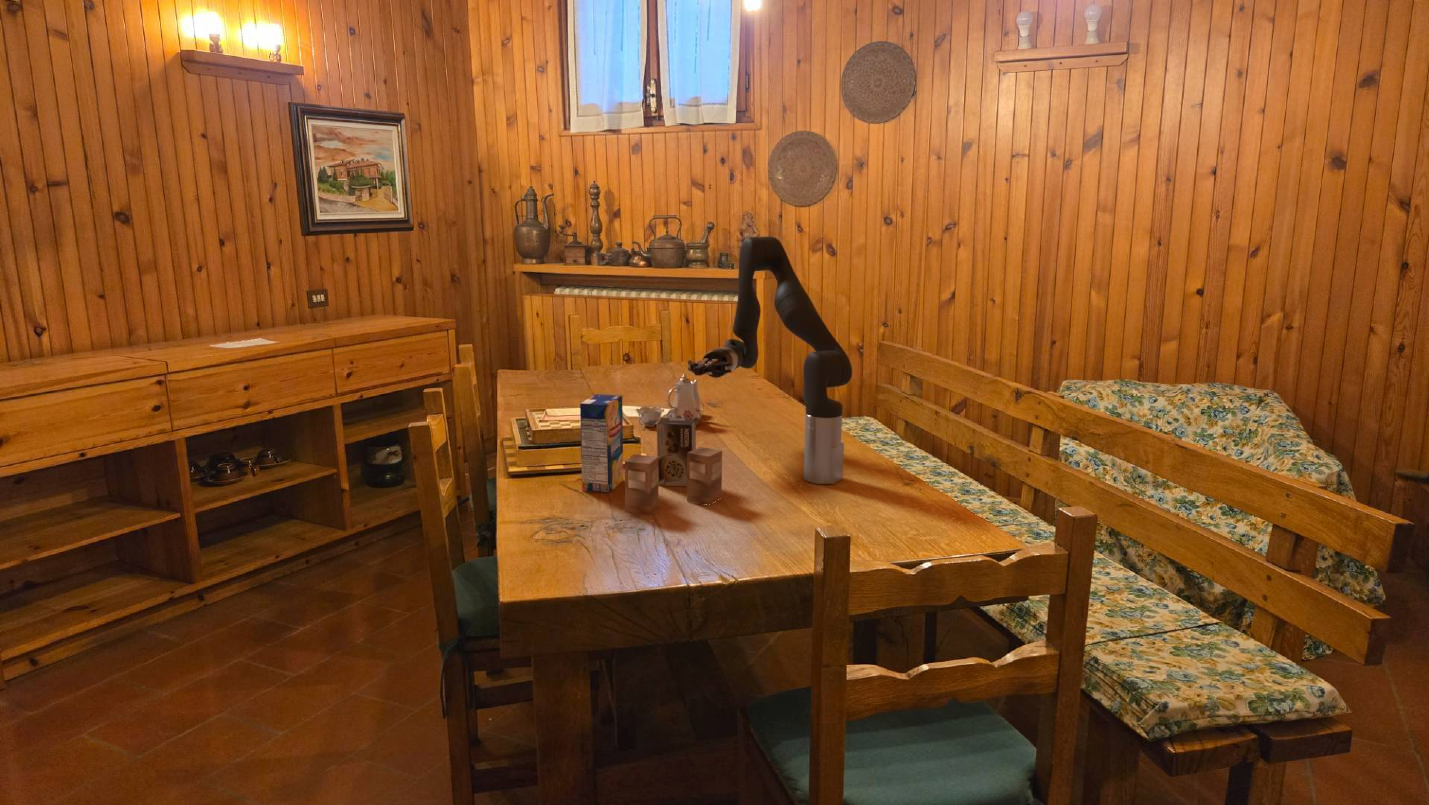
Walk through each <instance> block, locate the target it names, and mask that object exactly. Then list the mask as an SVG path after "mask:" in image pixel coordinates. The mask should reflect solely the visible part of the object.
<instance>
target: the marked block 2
mask: <svg viewBox="0 0 1429 805" xmlns="http://www.w3.org/2000/svg"><path fill="white" fill-rule="evenodd" d="M722 473H723V450H719V449H715V448H708V447H703V446H700V447H696V449H695V450H692V451H690V452H688V453H687V486H686V502H687V501H690V502H689V503H692V502H695V503H694V504H697V503H699V504H698V505H702V504H707V505H709V504H711V505H713V504H714V503H713V502H715V501H717V502H718V499H720V498H722V496H723V495H722V492H723V489H722V486H723V483H722V481H723V480H722V479H723V478H722V476H723V474H722ZM720 500H721V499H720ZM712 503H713V504H712ZM715 503H716V502H715ZM709 506H710V505H709Z"/></svg>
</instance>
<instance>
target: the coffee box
mask: <svg viewBox="0 0 1429 805" xmlns="http://www.w3.org/2000/svg"><path fill="white" fill-rule="evenodd" d="M696 429H697V428H696V419H689V418H667V417H660V419H659V421H658V422H657V423H656V450H657V451H656V453H657V454H656V455H657V456H656V457H658V466H659V483H658V486H665V487H666V486H669V487H670V486H671V487H687V453H688V452H690V451H692V450H695V449H697V447H696V445H697V443H696V441H697V439H696V438H697V437H696V433H697V432H696V431H697V430H696Z"/></svg>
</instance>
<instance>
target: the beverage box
mask: <svg viewBox="0 0 1429 805" xmlns="http://www.w3.org/2000/svg"><path fill="white" fill-rule="evenodd" d="M579 406H580V407H579V410H580V411H579V413H580V415H579V416H580V452H581V455H580V459H581V464H580V465H581V492H587V493H589V492H590V493H600V494H610V493H611V492H612V491H613V490H614V489H615V488H616V487H618V486H619V485H620V484H621V483H622V482H624V437H623V436H624V434H623V432H624V431H623V430H624V427H623V423H624V422H623V420H624V419H623V417H624V415H623V395H615V394H614V395H612V394H601V393H600V394H599V393H596V394H594V395H593V396H590V397H589V398H587V399H585V400H584V401H582V402H580V403H579Z"/></svg>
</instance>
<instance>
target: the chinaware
mask: <svg viewBox="0 0 1429 805" xmlns="http://www.w3.org/2000/svg"><path fill="white" fill-rule="evenodd" d="M698 382H699V379H697V378H696V379H694V381H692V380H691V379H690V378H689V377H687V375H686V373H683V374H682V375H681V377H680V378H679V380H678V381H677V380H676V381H674V382H673V384H674V386H673V387H672V388H671V389H670V390H669V391H668V393H667V396H666V402H667V403H666V404H667V406H668V407H669V408H670V409H669V410H668V412H667V414H666V418H689V419H696V426H698V422H699V421H700V419H701V418H702V413H701V412H703V411H704V409H705V404H704V402H702V400H701V397H700V394H699V388H698ZM673 392H674V393H675V394H674V395H675V396H674V400H673V403H672V404H671V400H670V398H671V395H672V393H673ZM701 404H702V408H701ZM635 411H636V413H637V415H638V424H639V425H640V426H642V425H643V426H644V427H648V428H649V427H650V428H651V427H655V425H656V424H657V423H658V422H659V420H660V419H661V418H662V414H663V413H664V412H665V409H664V408H663V409H662V408H661V407H659V406H653V407H650V406H645V405H644V406H641V407H640V408H635Z"/></svg>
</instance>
